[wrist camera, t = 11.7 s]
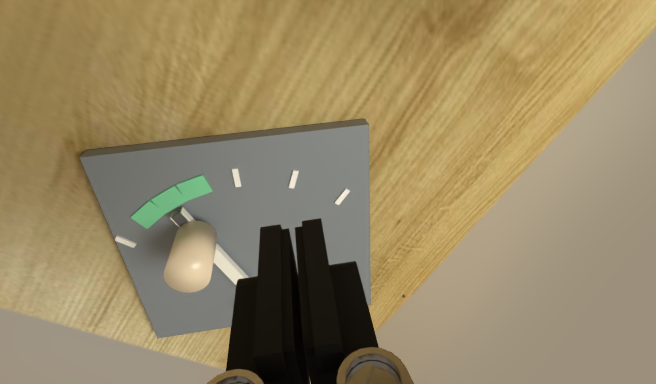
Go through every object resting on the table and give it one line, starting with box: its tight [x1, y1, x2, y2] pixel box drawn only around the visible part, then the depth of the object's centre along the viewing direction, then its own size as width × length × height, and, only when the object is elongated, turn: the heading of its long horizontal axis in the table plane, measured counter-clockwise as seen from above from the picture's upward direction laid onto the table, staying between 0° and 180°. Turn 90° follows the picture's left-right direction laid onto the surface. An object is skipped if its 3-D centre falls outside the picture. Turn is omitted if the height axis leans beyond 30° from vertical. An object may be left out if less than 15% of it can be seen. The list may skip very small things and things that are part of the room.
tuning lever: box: [164, 207, 249, 293], centre depth 36 cm, size 15×4×6 cm, turn 29°
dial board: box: [79, 119, 371, 338], centre depth 39 cm, size 24×22×2 cm
